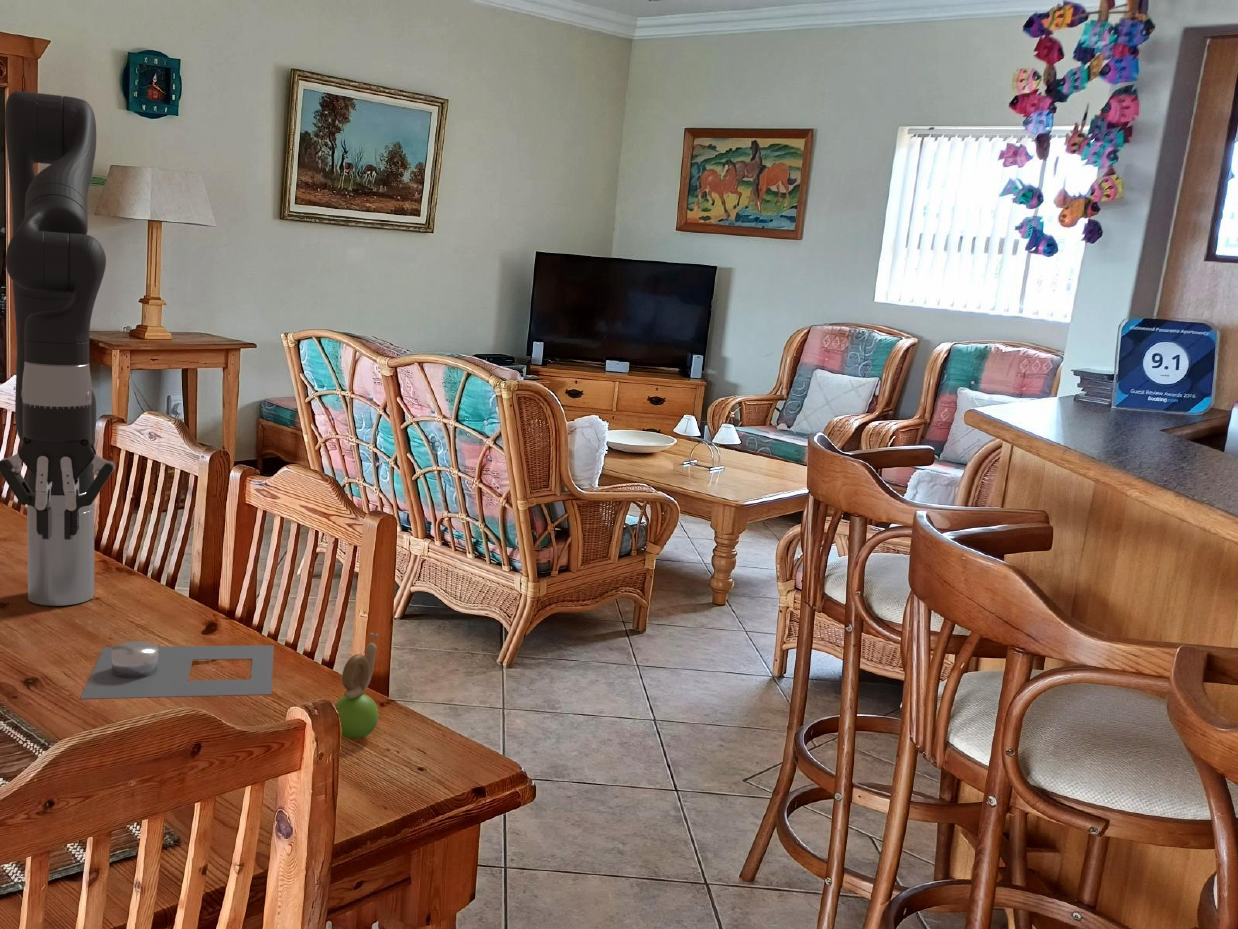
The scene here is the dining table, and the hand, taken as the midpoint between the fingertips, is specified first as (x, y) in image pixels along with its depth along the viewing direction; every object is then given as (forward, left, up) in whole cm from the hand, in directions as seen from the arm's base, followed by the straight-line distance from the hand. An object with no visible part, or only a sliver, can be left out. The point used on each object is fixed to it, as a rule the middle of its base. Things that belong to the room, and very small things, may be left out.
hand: (57, 537), depth 142 cm
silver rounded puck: (0, +9, -18) cm, 20 cm away
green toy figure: (+19, +36, -19) cm, 45 cm away
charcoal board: (0, +15, -19) cm, 24 cm away
